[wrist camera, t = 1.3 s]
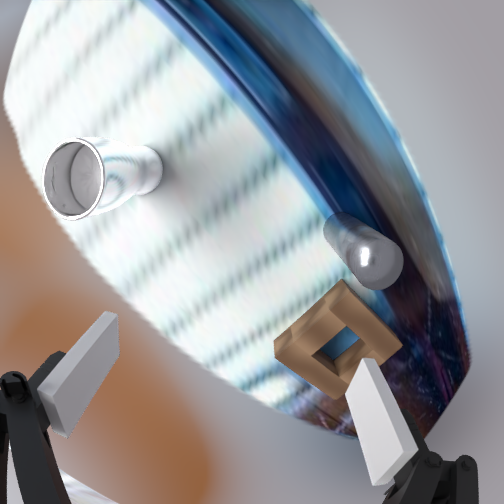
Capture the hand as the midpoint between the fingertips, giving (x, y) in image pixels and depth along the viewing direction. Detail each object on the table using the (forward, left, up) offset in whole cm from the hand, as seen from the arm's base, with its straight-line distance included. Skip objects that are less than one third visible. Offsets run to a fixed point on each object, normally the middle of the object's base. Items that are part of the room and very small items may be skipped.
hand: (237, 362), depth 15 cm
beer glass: (+2, -16, -23) cm, 28 cm away
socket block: (+2, +18, -23) cm, 29 cm away
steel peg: (-9, +7, -23) cm, 25 cm away
